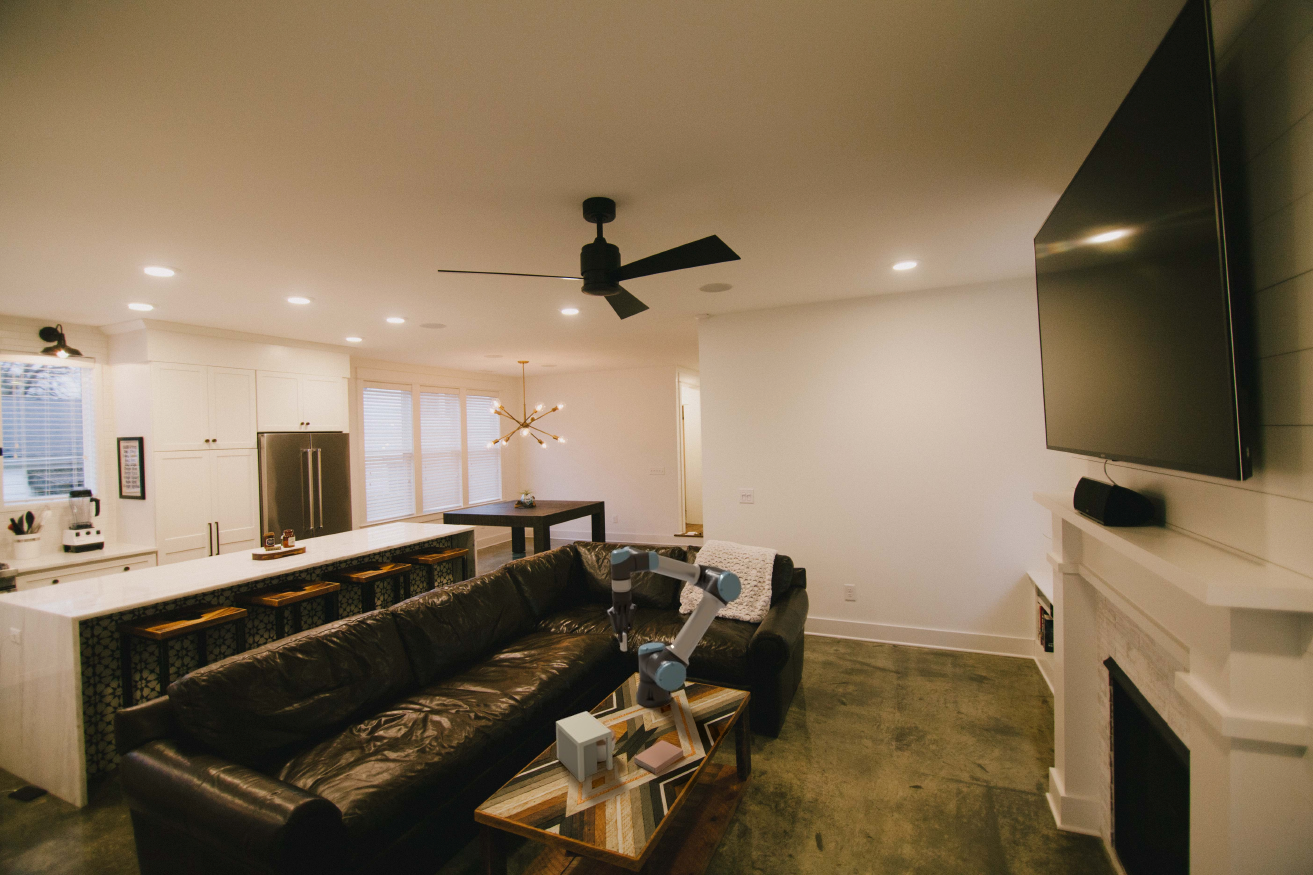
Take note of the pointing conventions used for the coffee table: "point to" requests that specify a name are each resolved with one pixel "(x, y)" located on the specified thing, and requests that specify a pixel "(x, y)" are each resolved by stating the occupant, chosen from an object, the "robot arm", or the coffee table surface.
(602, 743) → the lidded jar
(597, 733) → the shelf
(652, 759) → the book
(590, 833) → the coffee table surface
